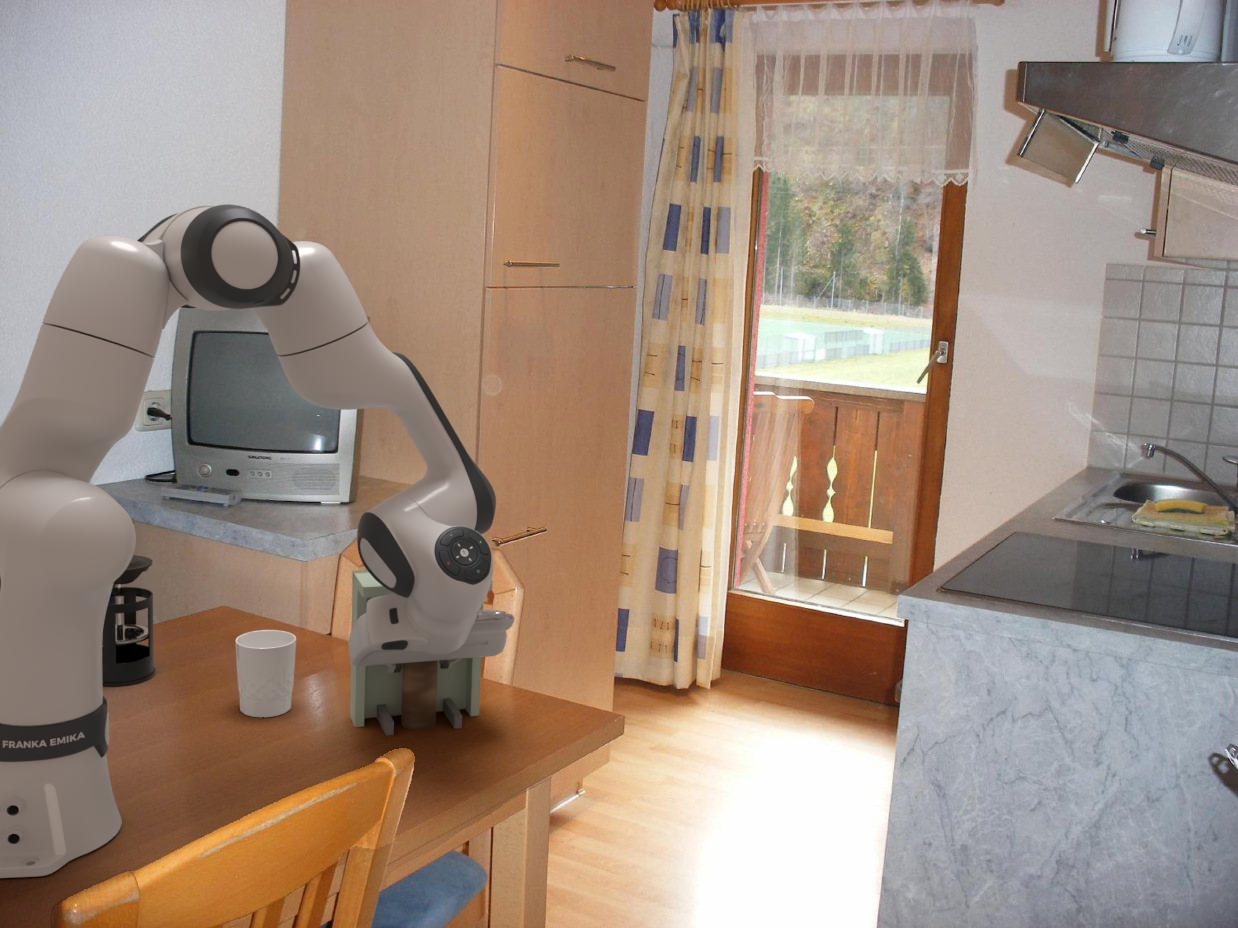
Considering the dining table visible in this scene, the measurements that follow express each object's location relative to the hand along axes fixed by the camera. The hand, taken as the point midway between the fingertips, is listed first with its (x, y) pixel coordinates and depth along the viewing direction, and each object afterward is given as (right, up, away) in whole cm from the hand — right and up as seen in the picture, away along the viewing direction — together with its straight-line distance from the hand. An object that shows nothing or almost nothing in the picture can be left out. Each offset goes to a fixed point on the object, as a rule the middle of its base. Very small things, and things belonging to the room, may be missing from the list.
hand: (419, 665), depth 158 cm
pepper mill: (0, -8, +1) cm, 8 cm away
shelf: (0, -8, +1) cm, 8 cm away
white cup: (-22, -6, +3) cm, 23 cm away
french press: (-46, -4, +12) cm, 47 cm away
